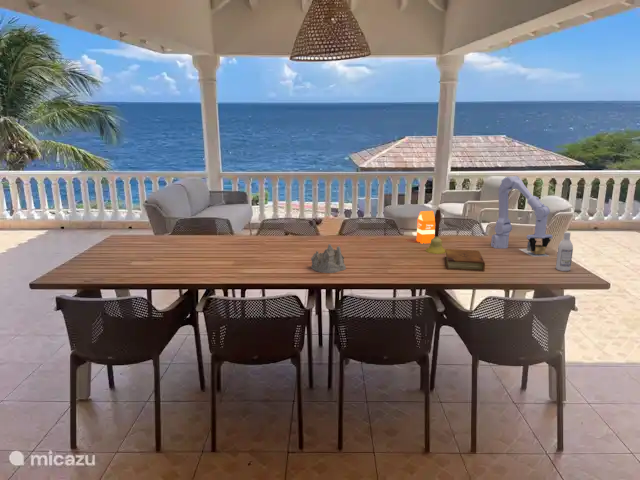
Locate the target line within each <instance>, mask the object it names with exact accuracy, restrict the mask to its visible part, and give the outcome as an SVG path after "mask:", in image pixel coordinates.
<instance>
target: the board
mask: <svg viewBox="0 0 640 480" xmlns="http://www.w3.org/2000/svg"><path fill="white" fill-rule="evenodd" d="M518 250H519V251H520V252H521V251H522V252H523V253H525V254H527V255H529V256H530V257H549V254H547V253H545V254H534V253H532V252H531V251H528V250H527V248H518Z"/></svg>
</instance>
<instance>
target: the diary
mask: <svg viewBox="0 0 640 480" xmlns="http://www.w3.org/2000/svg"><path fill="white" fill-rule="evenodd" d="M444 249H445V251H446V253H445V256H444V259H445V265H446V269H447V270H450V271H451V270H453V271H471V272H473V271H474V272H477V271H478V272H484V271H485V267H486V262H485V260H484V259H483V256H482V254H481V252H480V250H478V249H477V250H476V249H474V250H473V249H451V248H444Z"/></svg>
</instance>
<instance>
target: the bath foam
mask: <svg viewBox="0 0 640 480" xmlns="http://www.w3.org/2000/svg"><path fill="white" fill-rule="evenodd" d="M573 250H574V246H573V242H572V241H571V232H570V231H564V233H563V239H561V241H560V242H559V244H558V247H557V256H556V264H555V269H556V270H557V271H562V272H569V271H570V270H571V268H572V259H573V252H574V251H573Z"/></svg>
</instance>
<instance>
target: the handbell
mask: <svg viewBox="0 0 640 480" xmlns="http://www.w3.org/2000/svg"><path fill="white" fill-rule="evenodd" d="M435 210H436V211H435V214H434V217H435V236H434V238H433V239H431V243H429V244H430V245H429V246H428V247H427V248H425V252H426V253H429V254H433V255H442V254H443V255H444V254H446V251H445V249H446V248H444V247H443V240H442V239H441V238H440V236H439V235H440V234H439V233H440V223H441V220H442V219H441V218H442V213H441V210H440V209H435Z"/></svg>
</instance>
